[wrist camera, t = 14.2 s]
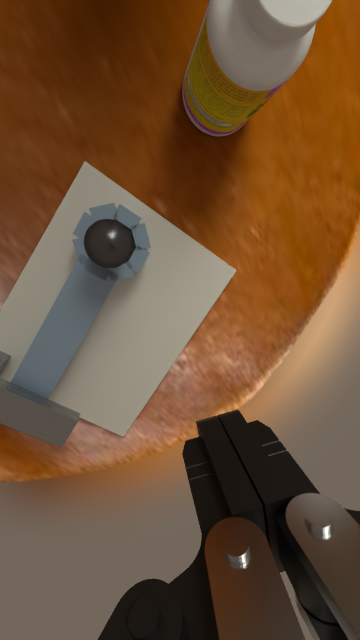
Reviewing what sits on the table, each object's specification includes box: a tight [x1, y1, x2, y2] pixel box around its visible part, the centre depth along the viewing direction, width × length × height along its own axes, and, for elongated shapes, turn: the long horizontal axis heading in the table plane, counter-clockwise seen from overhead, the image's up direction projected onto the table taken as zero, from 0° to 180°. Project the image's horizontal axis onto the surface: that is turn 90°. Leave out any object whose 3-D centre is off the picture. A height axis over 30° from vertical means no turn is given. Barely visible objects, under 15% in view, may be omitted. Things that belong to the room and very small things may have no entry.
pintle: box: [84, 219, 133, 268], centre depth 23 cm, size 3×3×9 cm
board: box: [0, 161, 237, 437], centre depth 29 cm, size 22×17×1 cm
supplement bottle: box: [182, 0, 332, 136], centre depth 20 cm, size 7×7×13 cm
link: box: [11, 203, 151, 399], centre depth 26 cm, size 19×6×3 cm, turn 148°
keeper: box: [0, 351, 80, 448], centre depth 27 cm, size 3×10×6 cm, turn 56°
